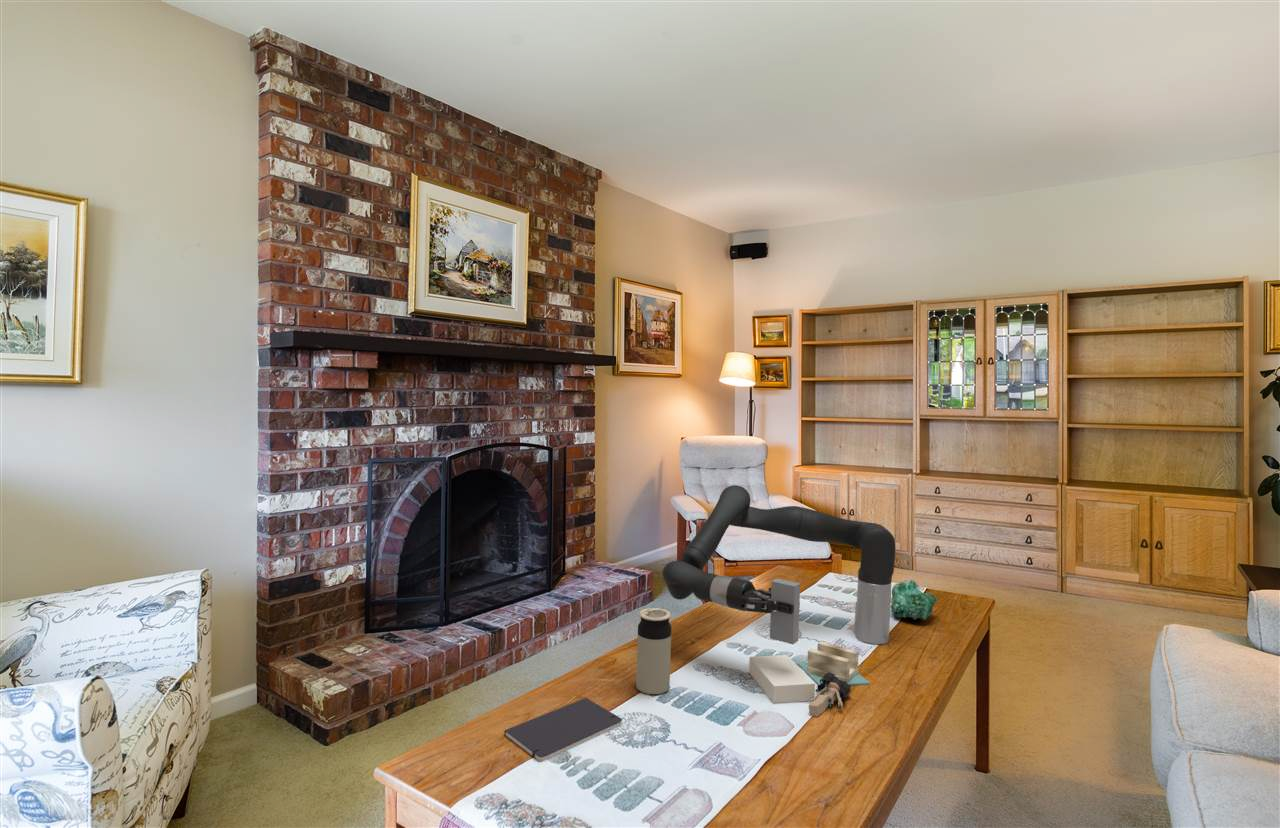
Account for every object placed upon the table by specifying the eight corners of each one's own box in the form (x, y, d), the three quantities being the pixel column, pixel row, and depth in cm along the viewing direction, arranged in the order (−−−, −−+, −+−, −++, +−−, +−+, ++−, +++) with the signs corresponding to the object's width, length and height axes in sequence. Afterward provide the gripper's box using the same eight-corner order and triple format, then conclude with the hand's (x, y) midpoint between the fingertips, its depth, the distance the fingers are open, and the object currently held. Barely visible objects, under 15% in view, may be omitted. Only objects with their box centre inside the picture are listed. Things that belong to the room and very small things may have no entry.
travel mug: (676, 687, 154) (678, 613, 153) (654, 699, 148) (656, 621, 147) (651, 676, 159) (653, 605, 158) (629, 687, 153) (631, 612, 153)
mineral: (873, 606, 217) (875, 577, 216) (917, 606, 218) (919, 577, 218) (901, 627, 198) (903, 595, 198) (949, 626, 200) (951, 594, 200)
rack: (806, 672, 163) (807, 651, 163) (820, 661, 170) (821, 640, 170) (845, 684, 157) (846, 662, 157) (858, 672, 164) (859, 651, 164)
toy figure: (837, 725, 140) (853, 694, 153) (835, 696, 140) (851, 668, 153) (805, 719, 144) (823, 689, 156) (802, 691, 143) (821, 664, 156)
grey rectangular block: (769, 638, 156) (771, 581, 156) (775, 634, 159) (776, 578, 158) (793, 644, 153) (794, 586, 152) (798, 640, 155) (800, 583, 155)
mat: (797, 664, 169) (797, 662, 169) (843, 661, 172) (843, 660, 171) (820, 687, 156) (820, 685, 156) (869, 684, 159) (869, 682, 159)
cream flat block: (749, 672, 163) (749, 656, 163) (786, 670, 165) (786, 654, 165) (773, 703, 148) (774, 686, 148) (814, 700, 150) (814, 683, 149)
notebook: (585, 704, 146) (504, 737, 131) (586, 697, 146) (504, 730, 131) (623, 726, 137) (540, 765, 122) (623, 719, 137) (540, 757, 122)
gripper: (718, 584, 158) (783, 599, 148) (745, 571, 170) (808, 585, 159) (717, 614, 159) (783, 631, 148) (744, 600, 170) (807, 615, 159)
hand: (795, 607), depth 154 cm, fingers closed on grey rectangular block, 3 cm apart
